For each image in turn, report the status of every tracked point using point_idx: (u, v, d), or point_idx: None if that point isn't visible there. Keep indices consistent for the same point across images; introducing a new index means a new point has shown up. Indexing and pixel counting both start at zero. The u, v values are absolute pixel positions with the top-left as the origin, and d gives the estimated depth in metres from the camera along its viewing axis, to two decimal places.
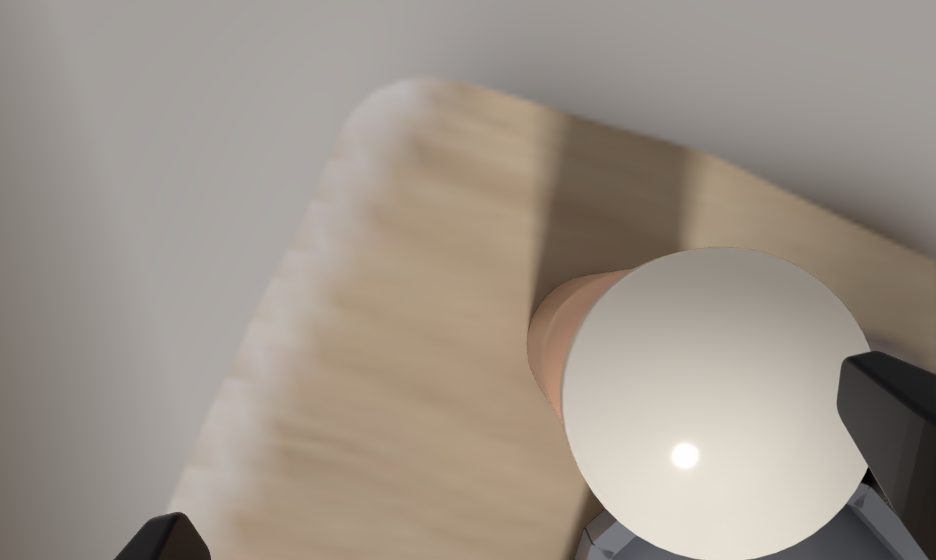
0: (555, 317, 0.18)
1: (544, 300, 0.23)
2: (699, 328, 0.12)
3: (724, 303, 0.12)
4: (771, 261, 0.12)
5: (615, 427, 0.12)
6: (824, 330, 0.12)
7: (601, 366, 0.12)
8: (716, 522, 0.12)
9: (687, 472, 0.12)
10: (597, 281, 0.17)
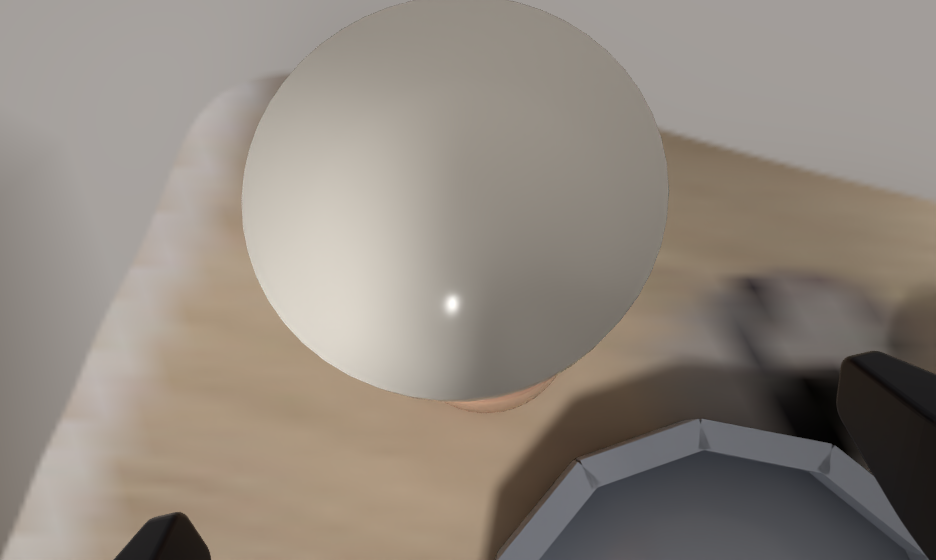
0: None
1: None
2: (411, 94, 0.09)
3: (439, 60, 0.09)
4: (493, 4, 0.09)
5: (310, 232, 0.09)
6: (574, 75, 0.09)
7: (286, 157, 0.09)
8: (462, 342, 0.08)
9: (414, 279, 0.08)
10: None
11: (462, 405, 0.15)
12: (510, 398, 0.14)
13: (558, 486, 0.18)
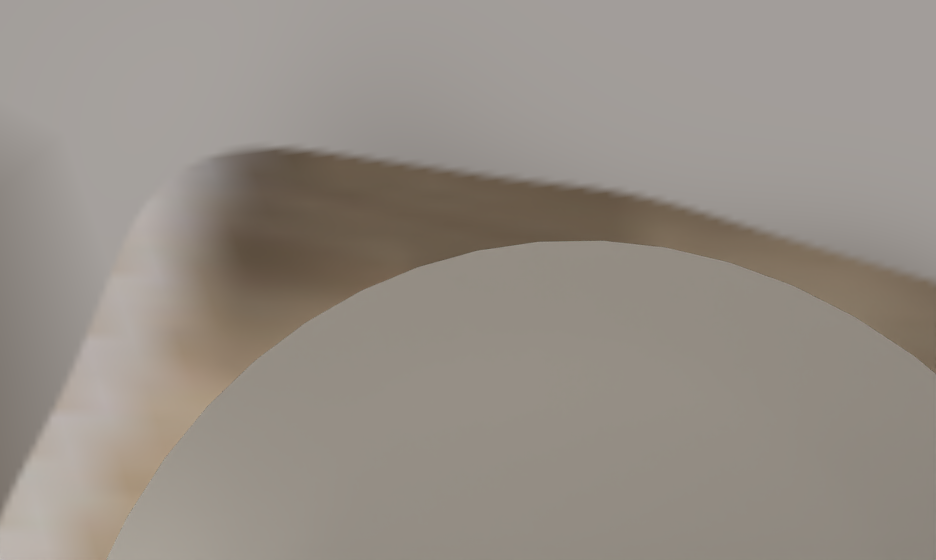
0: None
1: None
2: (479, 510, 0.04)
3: (545, 417, 0.04)
4: (672, 267, 0.04)
5: None
6: (893, 468, 0.03)
7: None
8: None
9: None
10: None
11: None
12: None
13: None
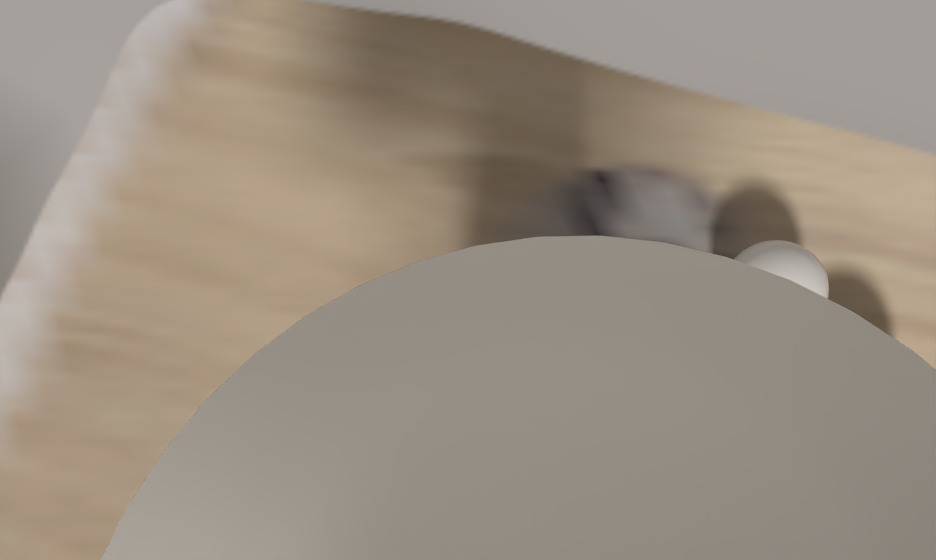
0: None
1: None
2: (475, 505, 0.04)
3: (543, 411, 0.04)
4: (670, 262, 0.04)
5: None
6: (891, 462, 0.03)
7: None
8: None
9: None
10: None
11: None
12: None
13: None
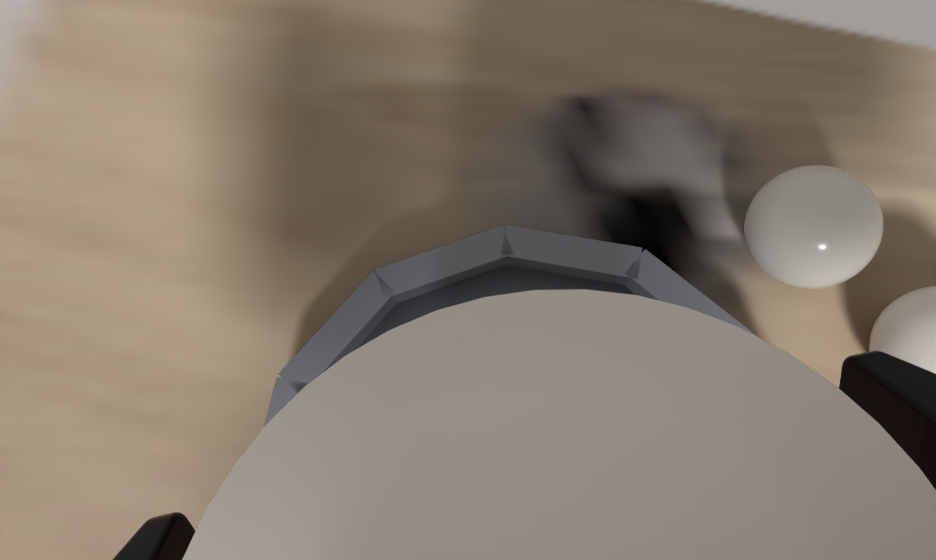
0: None
1: None
2: (485, 507, 0.04)
3: (540, 432, 0.05)
4: (642, 312, 0.05)
5: None
6: (815, 474, 0.04)
7: None
8: None
9: None
10: None
11: None
12: None
13: (350, 296, 0.16)
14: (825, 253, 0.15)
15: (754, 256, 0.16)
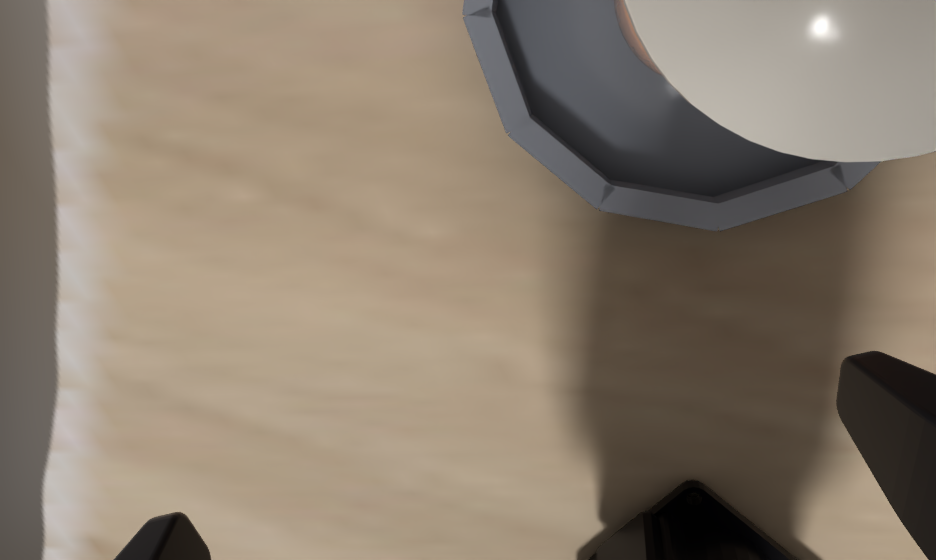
0: None
1: None
2: None
3: None
4: None
5: None
6: None
7: None
8: (887, 98, 0.07)
9: (833, 23, 0.07)
10: None
11: None
12: None
13: None
14: None
15: None
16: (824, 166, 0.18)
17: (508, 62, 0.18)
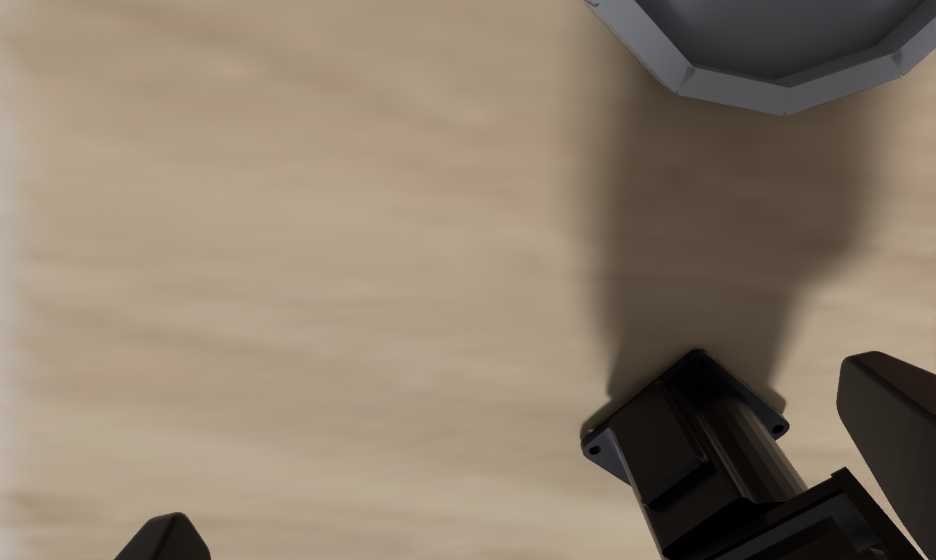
0: None
1: None
2: None
3: None
4: None
5: None
6: None
7: None
8: None
9: None
10: None
11: None
12: None
13: None
14: None
15: None
16: (884, 51, 0.19)
17: None
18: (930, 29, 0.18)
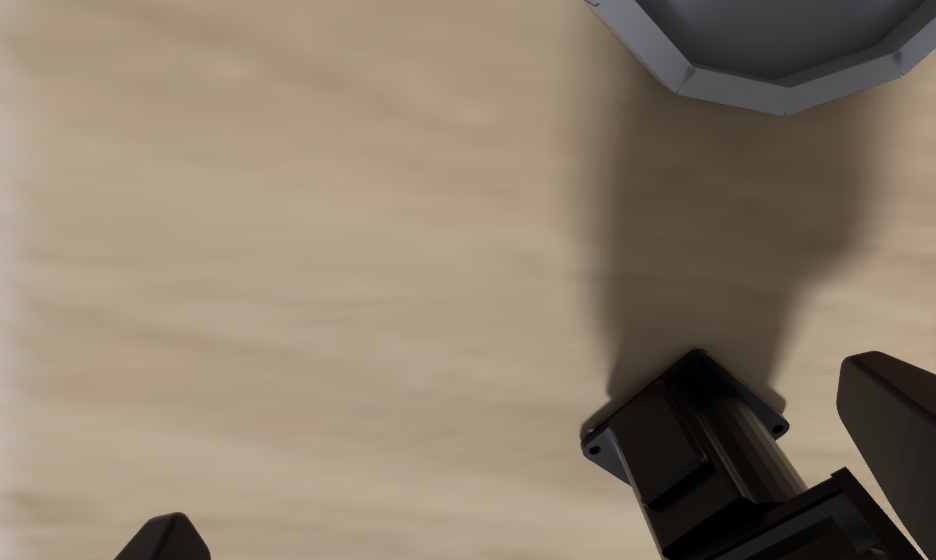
0: None
1: None
2: None
3: None
4: None
5: None
6: None
7: None
8: None
9: None
10: None
11: None
12: None
13: None
14: None
15: None
16: (884, 51, 0.19)
17: None
18: (930, 29, 0.18)
